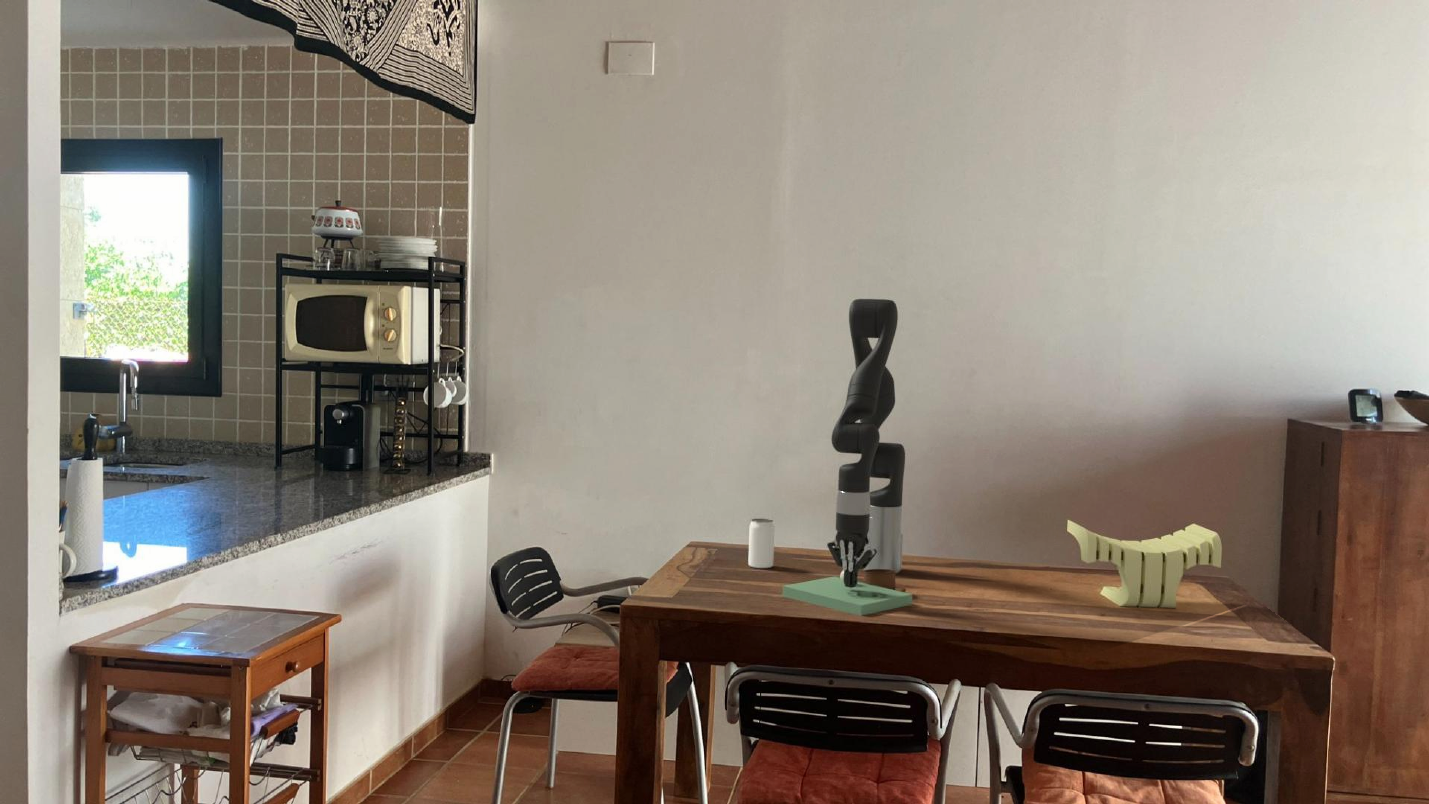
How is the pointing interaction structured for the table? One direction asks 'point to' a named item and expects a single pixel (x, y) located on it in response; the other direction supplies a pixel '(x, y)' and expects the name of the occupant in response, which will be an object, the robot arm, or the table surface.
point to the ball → (842, 576)
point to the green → (847, 596)
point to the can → (761, 543)
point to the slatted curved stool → (1150, 562)
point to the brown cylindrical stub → (881, 579)
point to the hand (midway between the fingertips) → (850, 586)
